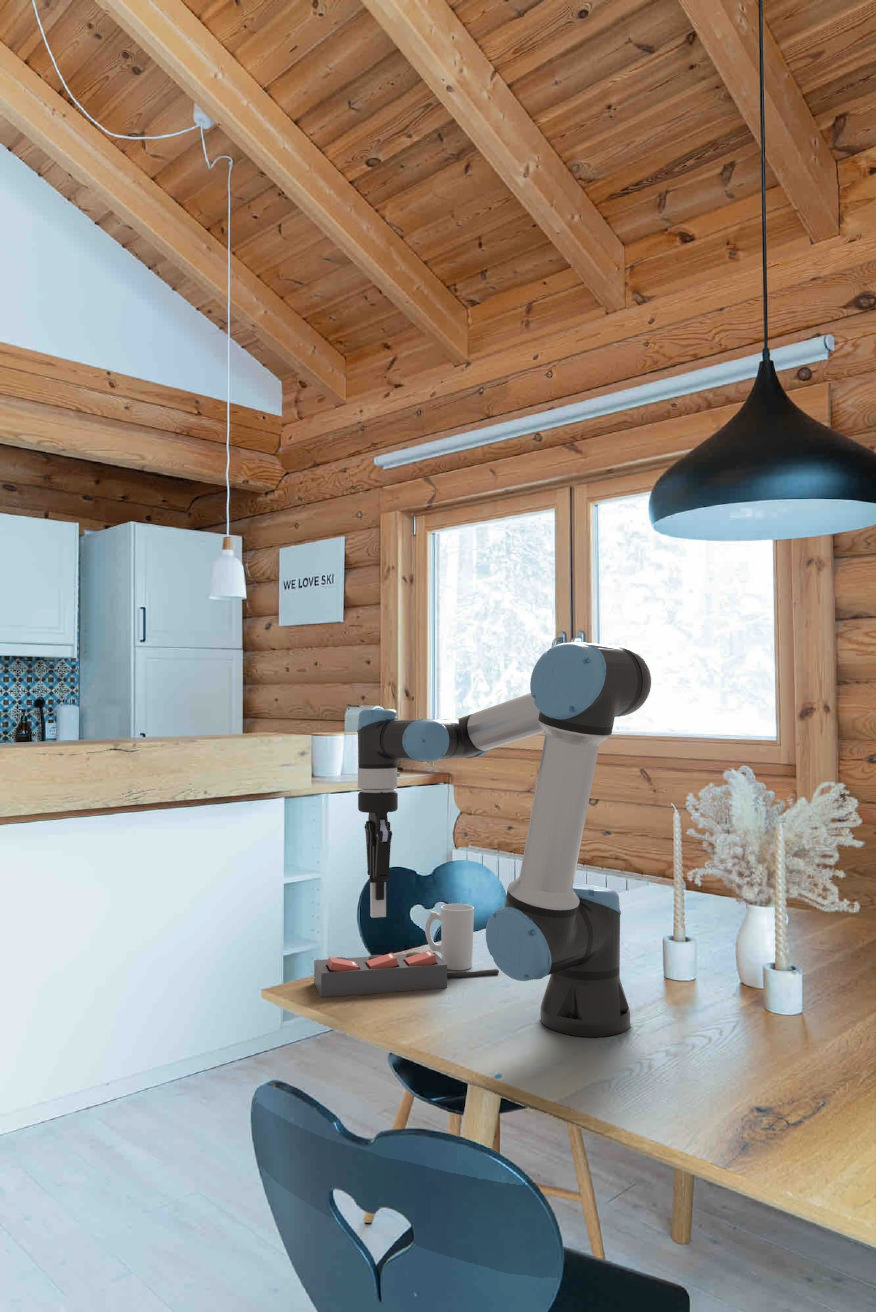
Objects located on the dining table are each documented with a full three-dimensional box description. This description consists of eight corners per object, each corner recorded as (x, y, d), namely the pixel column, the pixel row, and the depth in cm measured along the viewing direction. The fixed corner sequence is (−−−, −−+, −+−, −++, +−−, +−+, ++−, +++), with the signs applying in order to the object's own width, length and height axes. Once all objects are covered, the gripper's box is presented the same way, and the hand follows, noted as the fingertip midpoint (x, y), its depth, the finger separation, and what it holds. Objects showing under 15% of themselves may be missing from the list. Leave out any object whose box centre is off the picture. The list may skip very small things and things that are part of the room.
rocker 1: (357, 974, 177) (359, 966, 177) (330, 969, 176) (332, 961, 176) (353, 968, 181) (355, 961, 181) (327, 964, 179) (329, 956, 180)
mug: (475, 962, 198) (476, 904, 198) (471, 971, 191) (471, 911, 191) (427, 959, 199) (428, 902, 200) (421, 968, 193) (422, 909, 193)
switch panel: (509, 982, 184) (509, 958, 184) (321, 997, 174) (321, 971, 174) (493, 969, 192) (494, 946, 193) (313, 982, 183) (314, 958, 183)
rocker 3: (436, 962, 181) (434, 954, 181) (410, 970, 180) (409, 963, 180) (431, 957, 185) (429, 949, 185) (406, 965, 183) (404, 957, 183)
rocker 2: (398, 965, 179) (396, 957, 179) (371, 973, 178) (370, 965, 178) (393, 959, 183) (391, 952, 183) (367, 967, 181) (366, 960, 181)
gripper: (405, 792, 175) (405, 922, 174) (389, 787, 188) (389, 908, 187) (365, 793, 173) (365, 925, 172) (351, 788, 186) (351, 910, 184)
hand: (378, 916), depth 179 cm, fingers closed
